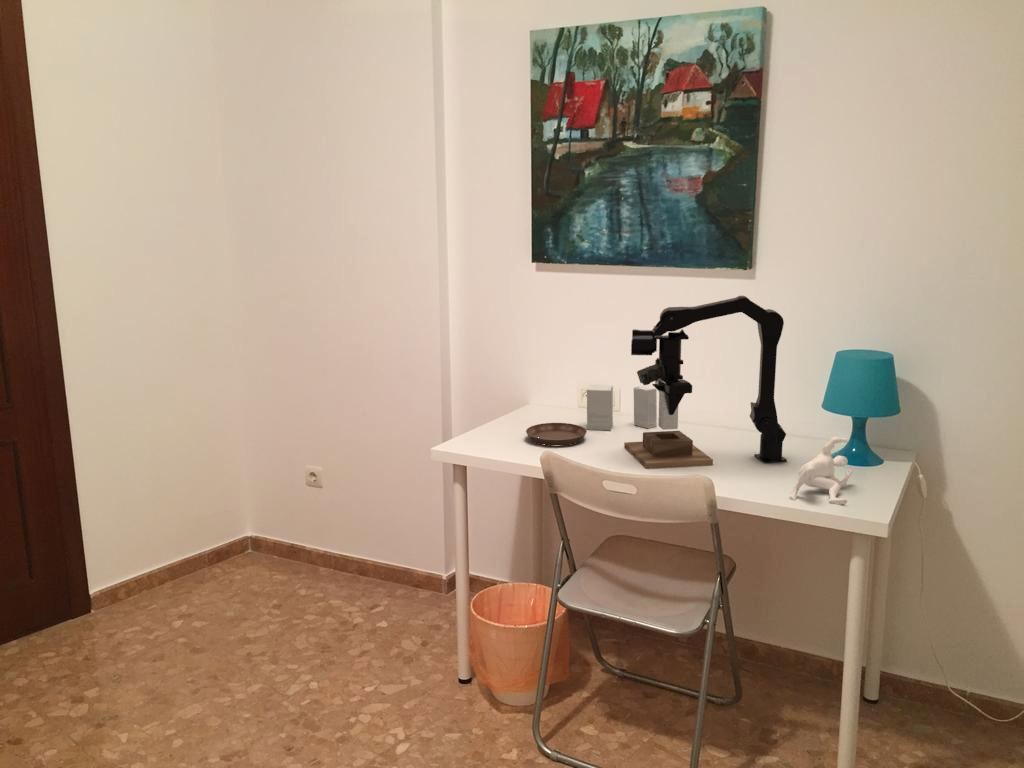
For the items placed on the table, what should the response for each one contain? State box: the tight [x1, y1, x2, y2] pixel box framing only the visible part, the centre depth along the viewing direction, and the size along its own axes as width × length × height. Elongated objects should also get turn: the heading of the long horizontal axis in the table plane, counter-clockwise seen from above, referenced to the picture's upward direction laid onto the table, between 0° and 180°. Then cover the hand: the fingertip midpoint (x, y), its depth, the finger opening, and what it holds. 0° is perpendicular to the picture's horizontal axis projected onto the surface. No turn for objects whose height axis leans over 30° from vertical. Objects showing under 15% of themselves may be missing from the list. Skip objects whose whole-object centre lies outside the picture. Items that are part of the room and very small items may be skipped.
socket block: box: [623, 430, 714, 470], centre depth 226 cm, size 20×18×6 cm
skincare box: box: [633, 385, 658, 429], centre depth 257 cm, size 6×4×12 cm
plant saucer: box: [525, 422, 588, 447], centre depth 244 cm, size 18×18×3 cm
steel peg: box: [657, 390, 679, 431], centre depth 224 cm, size 4×4×10 cm
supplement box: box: [586, 384, 614, 431], centre depth 256 cm, size 7×7×13 cm
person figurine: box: [788, 436, 854, 505], centre depth 197 cm, size 13×13×18 cm
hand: (668, 412), depth 225 cm, fingers closed on steel peg, 4 cm apart
